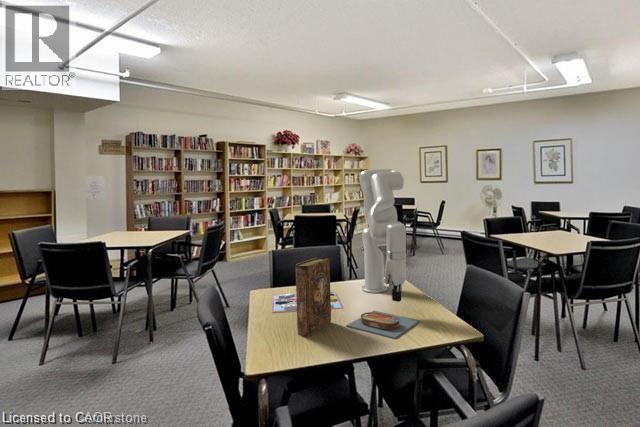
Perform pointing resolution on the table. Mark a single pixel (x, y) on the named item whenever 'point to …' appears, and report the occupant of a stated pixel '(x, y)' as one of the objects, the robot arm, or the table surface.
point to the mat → (403, 327)
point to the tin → (380, 320)
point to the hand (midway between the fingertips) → (396, 300)
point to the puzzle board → (290, 303)
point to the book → (313, 295)
